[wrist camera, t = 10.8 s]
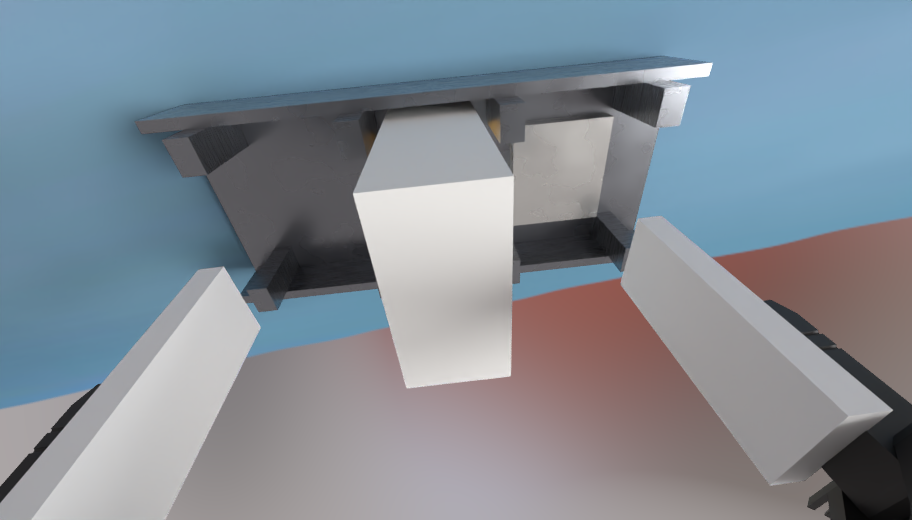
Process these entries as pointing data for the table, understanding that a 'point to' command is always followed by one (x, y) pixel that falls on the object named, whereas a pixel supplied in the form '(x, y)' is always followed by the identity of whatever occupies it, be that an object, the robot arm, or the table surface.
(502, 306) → the white box
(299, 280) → the rack
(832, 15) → the table surface
